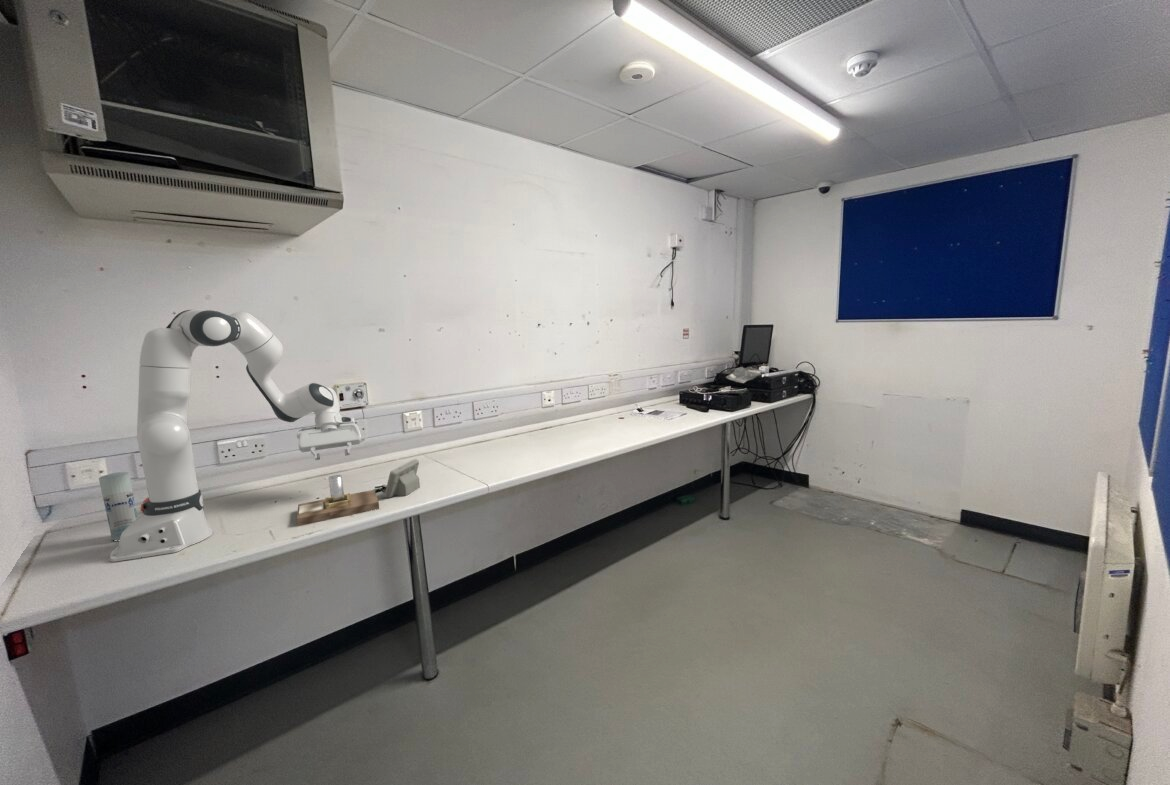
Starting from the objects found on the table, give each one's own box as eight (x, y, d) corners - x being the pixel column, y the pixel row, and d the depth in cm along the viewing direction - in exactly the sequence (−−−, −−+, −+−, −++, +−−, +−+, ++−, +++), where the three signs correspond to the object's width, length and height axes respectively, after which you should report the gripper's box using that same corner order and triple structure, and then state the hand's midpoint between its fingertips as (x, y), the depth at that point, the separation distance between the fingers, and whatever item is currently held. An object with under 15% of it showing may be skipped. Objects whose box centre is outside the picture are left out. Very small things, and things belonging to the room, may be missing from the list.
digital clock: (411, 482, 182) (409, 457, 180) (429, 485, 178) (426, 459, 176) (378, 497, 167) (375, 469, 166) (396, 500, 164) (393, 472, 162)
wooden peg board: (297, 526, 145) (296, 514, 144) (299, 511, 157) (297, 500, 156) (379, 508, 157) (378, 497, 156) (374, 496, 169) (373, 485, 168)
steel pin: (332, 513, 154) (328, 479, 152) (332, 509, 158) (328, 476, 156) (346, 510, 156) (342, 477, 154) (345, 506, 159) (341, 474, 158)
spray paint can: (112, 537, 141) (99, 475, 138) (141, 530, 145) (129, 470, 142) (111, 544, 136) (98, 480, 133) (141, 536, 141) (129, 474, 138)
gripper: (295, 424, 163) (297, 457, 156) (358, 417, 173) (363, 447, 167) (297, 434, 168) (300, 466, 161) (358, 426, 178) (363, 456, 171)
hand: (332, 456), depth 164 cm, fingers open, 8 cm apart
